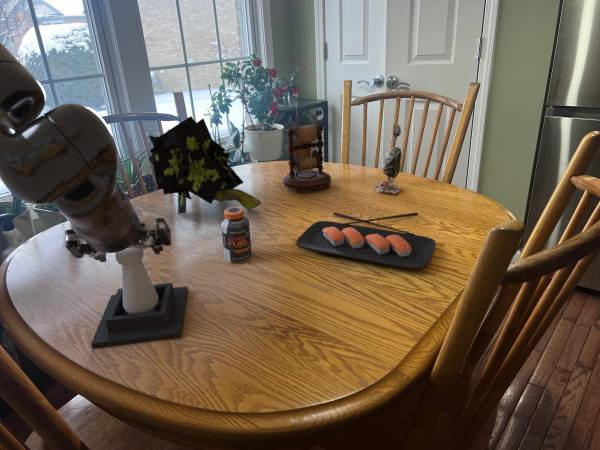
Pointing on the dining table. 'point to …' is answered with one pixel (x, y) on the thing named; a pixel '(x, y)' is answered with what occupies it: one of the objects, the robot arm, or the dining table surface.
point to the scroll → (305, 158)
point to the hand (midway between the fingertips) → (130, 252)
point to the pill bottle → (236, 236)
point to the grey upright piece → (391, 166)
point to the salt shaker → (136, 282)
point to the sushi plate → (369, 242)
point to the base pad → (142, 319)
